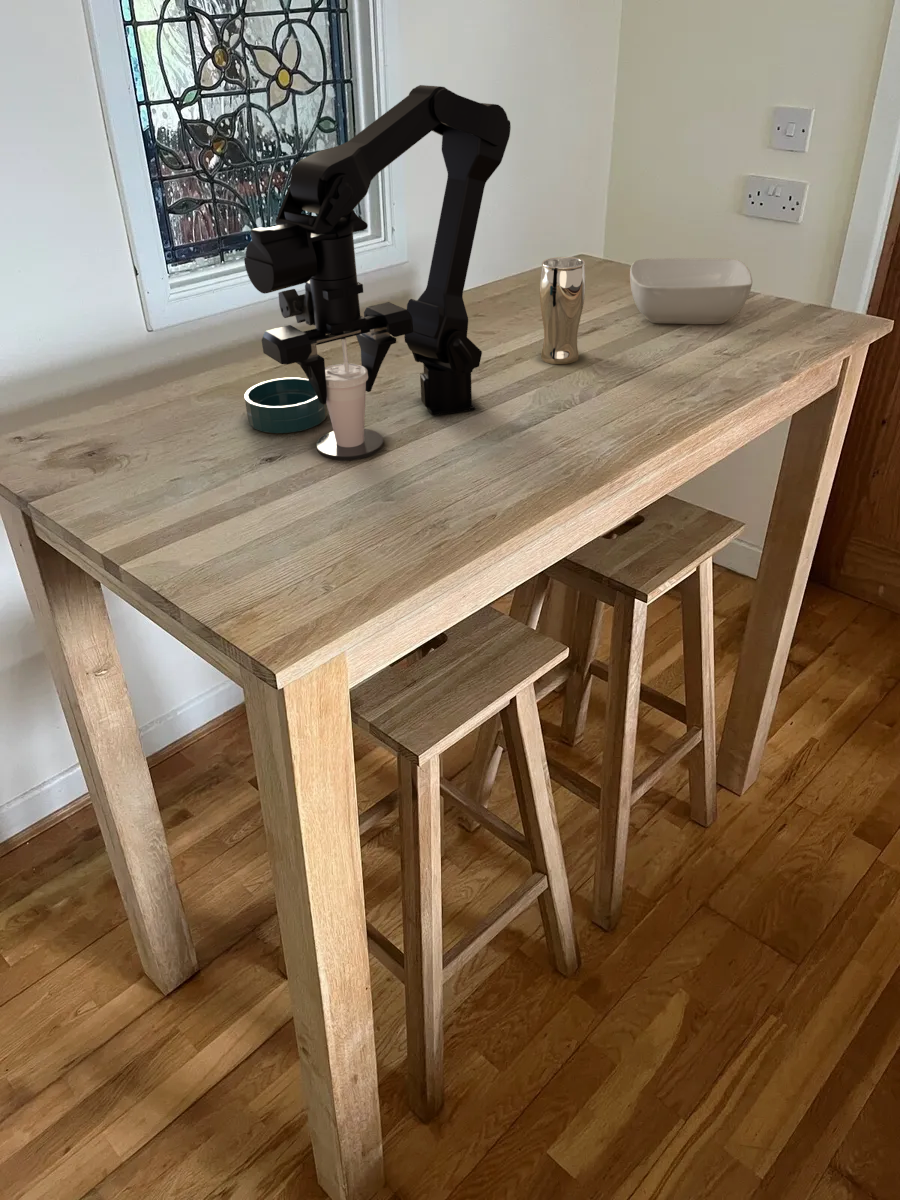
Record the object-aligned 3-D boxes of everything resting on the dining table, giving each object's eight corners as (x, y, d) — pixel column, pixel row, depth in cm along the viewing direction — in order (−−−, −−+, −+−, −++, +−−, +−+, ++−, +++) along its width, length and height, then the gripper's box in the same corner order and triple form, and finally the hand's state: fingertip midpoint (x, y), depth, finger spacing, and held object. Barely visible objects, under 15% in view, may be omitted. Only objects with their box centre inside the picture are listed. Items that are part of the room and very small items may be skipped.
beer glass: (532, 363, 146) (534, 266, 137) (545, 348, 151) (548, 255, 143) (575, 367, 144) (579, 269, 135) (586, 353, 149) (591, 257, 140)
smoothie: (366, 453, 119) (356, 348, 111) (319, 450, 120) (306, 346, 112) (379, 432, 124) (370, 331, 116) (334, 430, 125) (322, 329, 118)
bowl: (626, 296, 174) (629, 254, 170) (736, 296, 171) (743, 254, 167) (628, 331, 157) (631, 285, 153) (751, 332, 154) (758, 286, 150)
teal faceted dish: (321, 399, 136) (318, 373, 134) (332, 428, 127) (329, 401, 125) (246, 409, 134) (241, 383, 132) (252, 439, 125) (247, 412, 123)
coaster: (376, 428, 127) (376, 424, 127) (389, 455, 120) (389, 450, 120) (312, 437, 125) (311, 432, 125) (321, 464, 118) (321, 460, 118)
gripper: (365, 248, 120) (375, 363, 129) (233, 274, 111) (253, 396, 120) (411, 265, 112) (418, 386, 121) (273, 295, 104) (291, 423, 112)
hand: (345, 397), depth 119 cm, fingers closed on smoothie, 6 cm apart
